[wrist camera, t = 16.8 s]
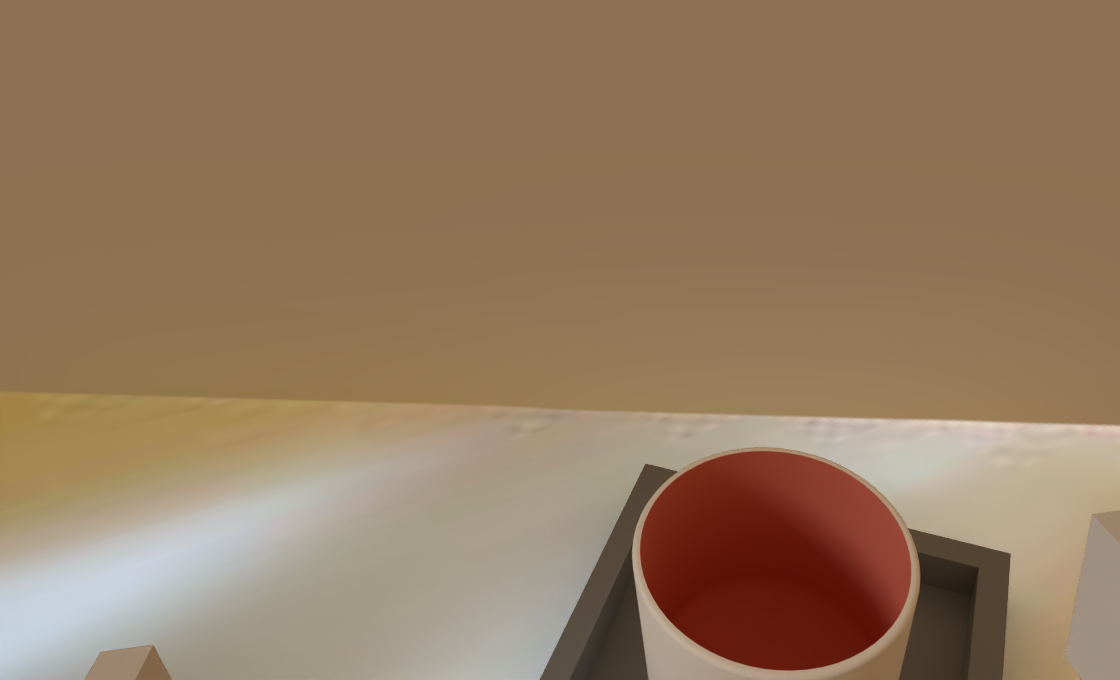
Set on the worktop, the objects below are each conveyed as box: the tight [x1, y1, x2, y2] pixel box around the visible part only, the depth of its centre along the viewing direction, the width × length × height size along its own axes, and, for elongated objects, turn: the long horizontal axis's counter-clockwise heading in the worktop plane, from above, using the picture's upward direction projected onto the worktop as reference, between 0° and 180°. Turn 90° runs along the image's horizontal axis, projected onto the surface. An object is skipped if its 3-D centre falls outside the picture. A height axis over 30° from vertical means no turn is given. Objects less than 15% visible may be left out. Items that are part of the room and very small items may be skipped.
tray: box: [540, 464, 1011, 680], centre depth 35 cm, size 17×17×3 cm
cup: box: [632, 448, 920, 680], centre depth 33 cm, size 10×10×10 cm
